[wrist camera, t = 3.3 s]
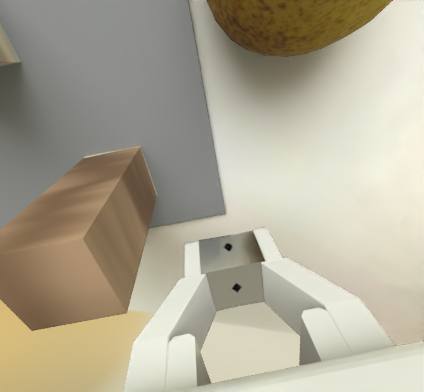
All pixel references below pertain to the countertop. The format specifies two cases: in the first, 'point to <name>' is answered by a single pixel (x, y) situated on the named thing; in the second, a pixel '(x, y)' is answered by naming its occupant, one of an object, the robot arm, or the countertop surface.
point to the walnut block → (79, 242)
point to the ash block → (7, 49)
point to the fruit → (292, 22)
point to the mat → (105, 100)
